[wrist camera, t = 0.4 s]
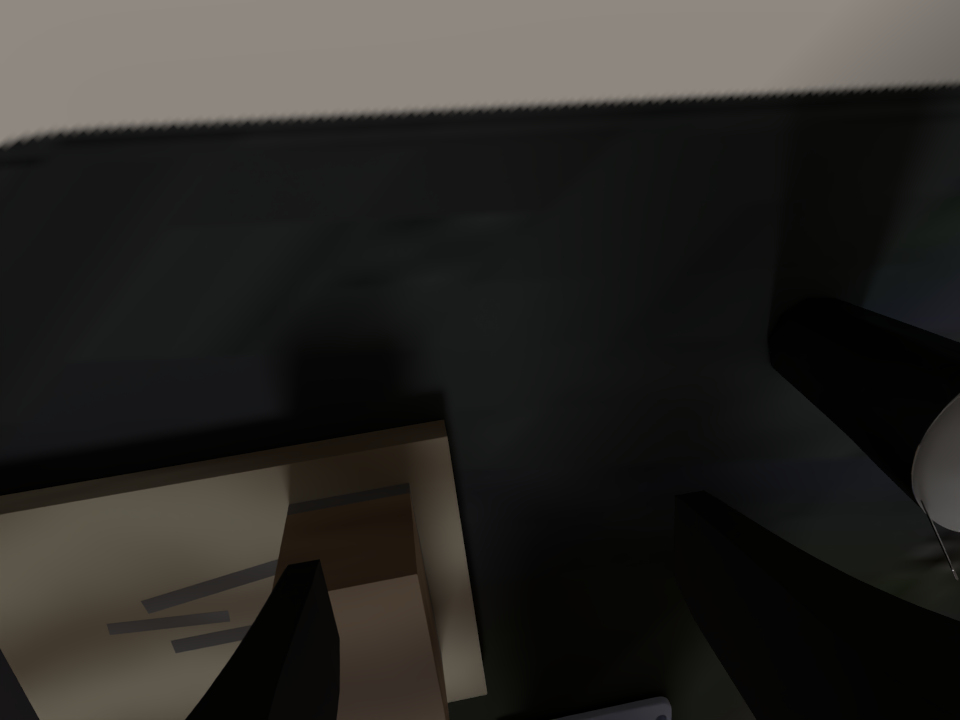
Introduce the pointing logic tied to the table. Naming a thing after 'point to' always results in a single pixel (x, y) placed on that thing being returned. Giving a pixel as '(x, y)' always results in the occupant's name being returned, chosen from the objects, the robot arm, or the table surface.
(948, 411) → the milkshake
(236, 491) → the board
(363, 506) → the block
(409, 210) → the table surface
